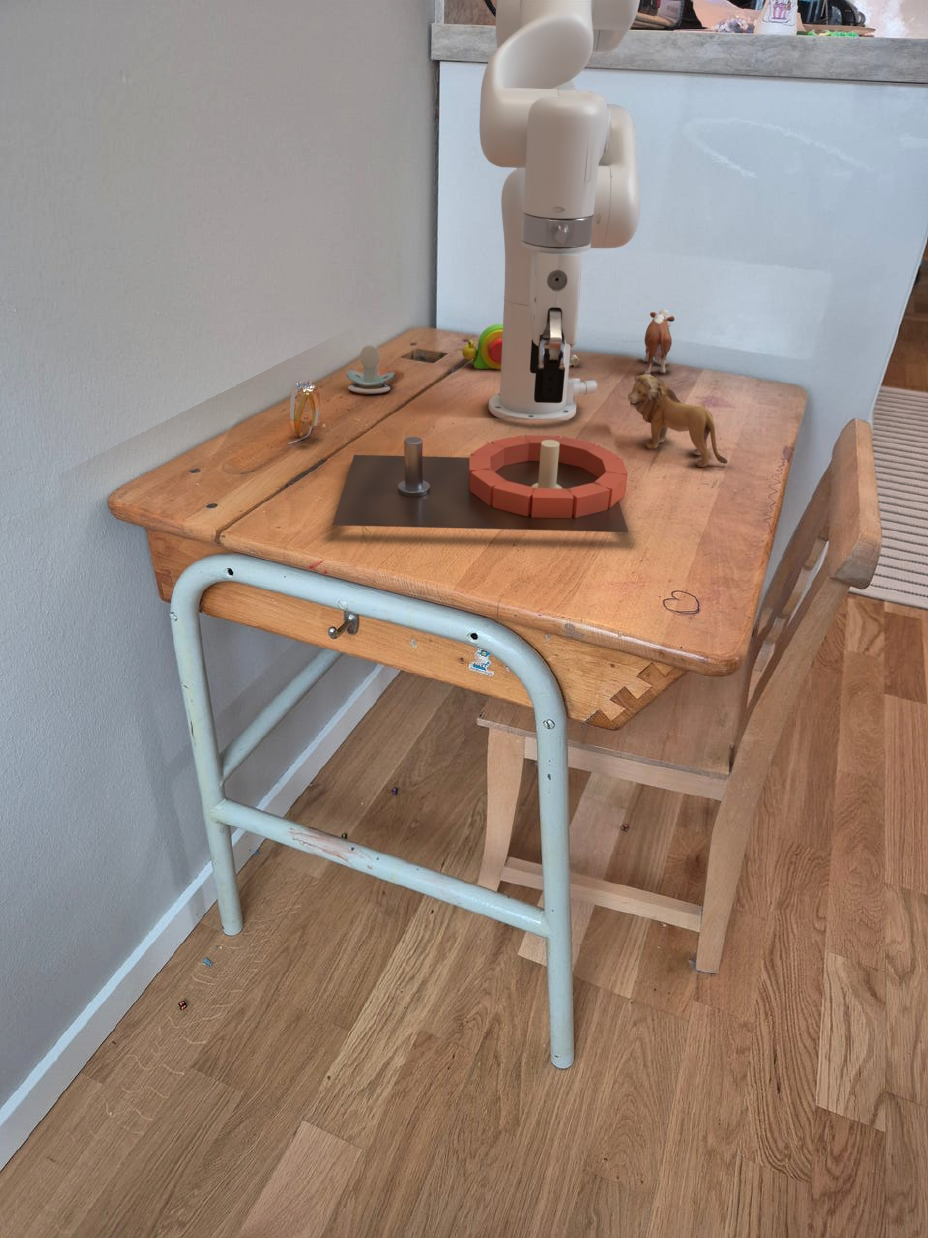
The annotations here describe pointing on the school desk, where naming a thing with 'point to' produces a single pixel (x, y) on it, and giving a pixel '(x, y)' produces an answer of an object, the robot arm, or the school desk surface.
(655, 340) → the bull figurine
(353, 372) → the pacifier
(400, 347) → the school desk surface
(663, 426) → the lion figurine
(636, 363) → the school desk surface
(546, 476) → the cream post
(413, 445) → the steel post
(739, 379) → the school desk surface
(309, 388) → the ring
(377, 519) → the board
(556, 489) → the ring
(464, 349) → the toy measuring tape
